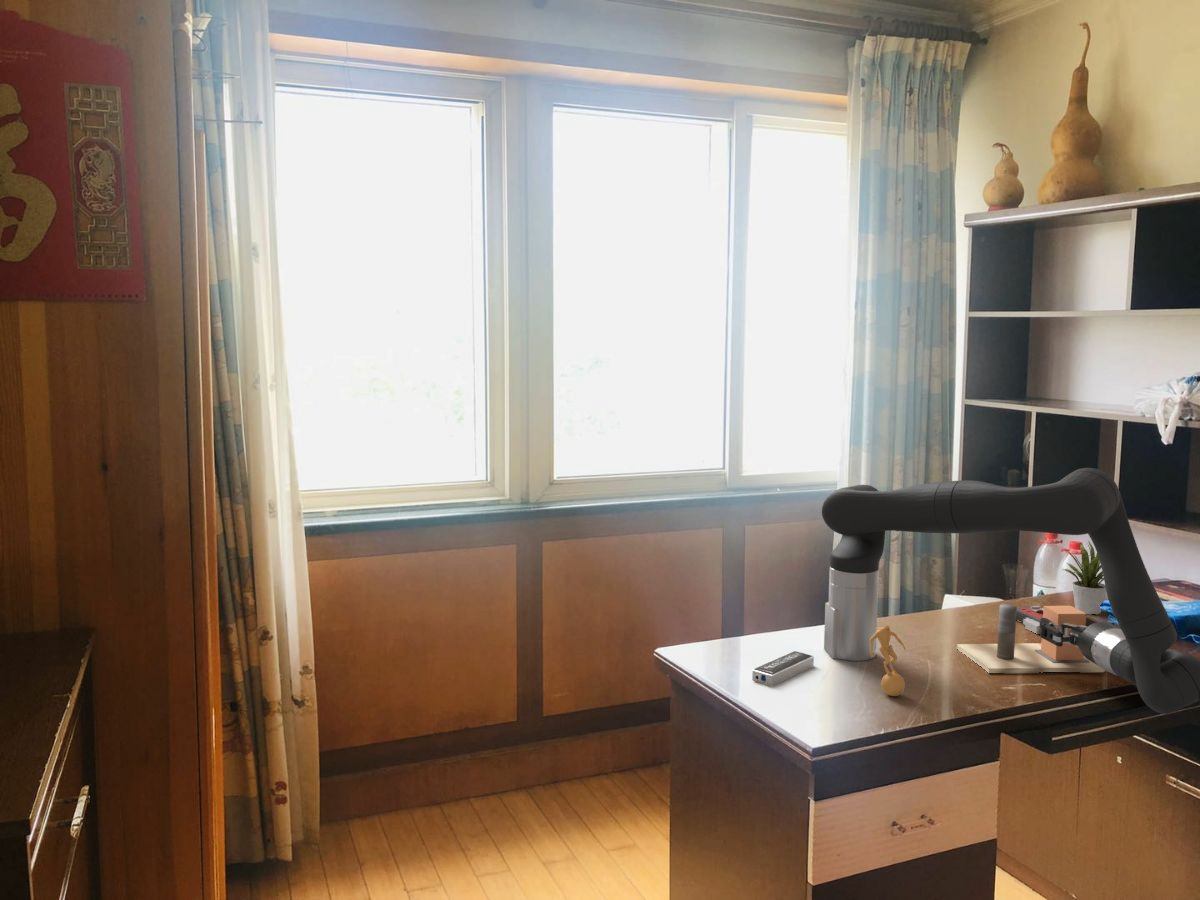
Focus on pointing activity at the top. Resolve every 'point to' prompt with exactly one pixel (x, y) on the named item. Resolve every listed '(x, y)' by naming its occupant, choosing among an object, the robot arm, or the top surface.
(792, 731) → the top surface
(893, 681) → the figurine
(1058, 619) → the tall salmon pillar
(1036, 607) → the walkie-talkie
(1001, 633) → the post stand
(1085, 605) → the house plant
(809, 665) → the multiport hub
